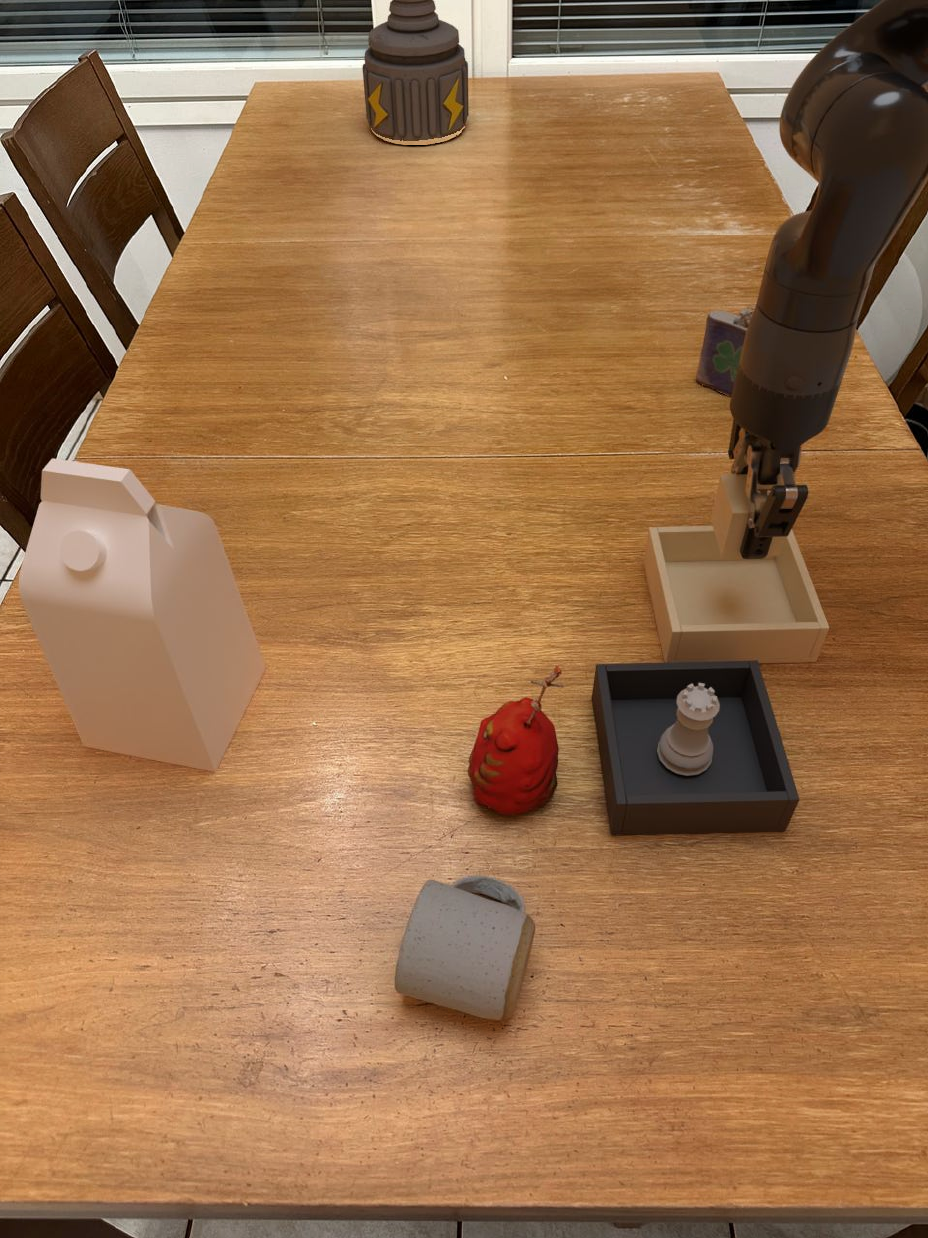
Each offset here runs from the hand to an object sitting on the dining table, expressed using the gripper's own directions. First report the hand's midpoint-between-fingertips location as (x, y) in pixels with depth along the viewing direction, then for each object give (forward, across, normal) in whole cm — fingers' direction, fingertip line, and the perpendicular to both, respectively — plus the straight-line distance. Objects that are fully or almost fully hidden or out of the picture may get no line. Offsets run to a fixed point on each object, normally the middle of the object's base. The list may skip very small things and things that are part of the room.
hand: (745, 533), depth 83 cm
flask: (+10, +36, -8) cm, 38 cm away
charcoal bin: (+10, -17, +7) cm, 21 cm away
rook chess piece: (+9, -17, +7) cm, 21 cm away
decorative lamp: (+10, +122, +31) cm, 126 cm away
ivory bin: (+10, 0, 0) cm, 10 cm away
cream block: (0, 0, 0) cm, 0 cm away
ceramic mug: (+10, -33, +25) cm, 43 cm away
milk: (+10, -10, +50) cm, 52 cm away
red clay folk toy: (+10, -19, +21) cm, 30 cm away
